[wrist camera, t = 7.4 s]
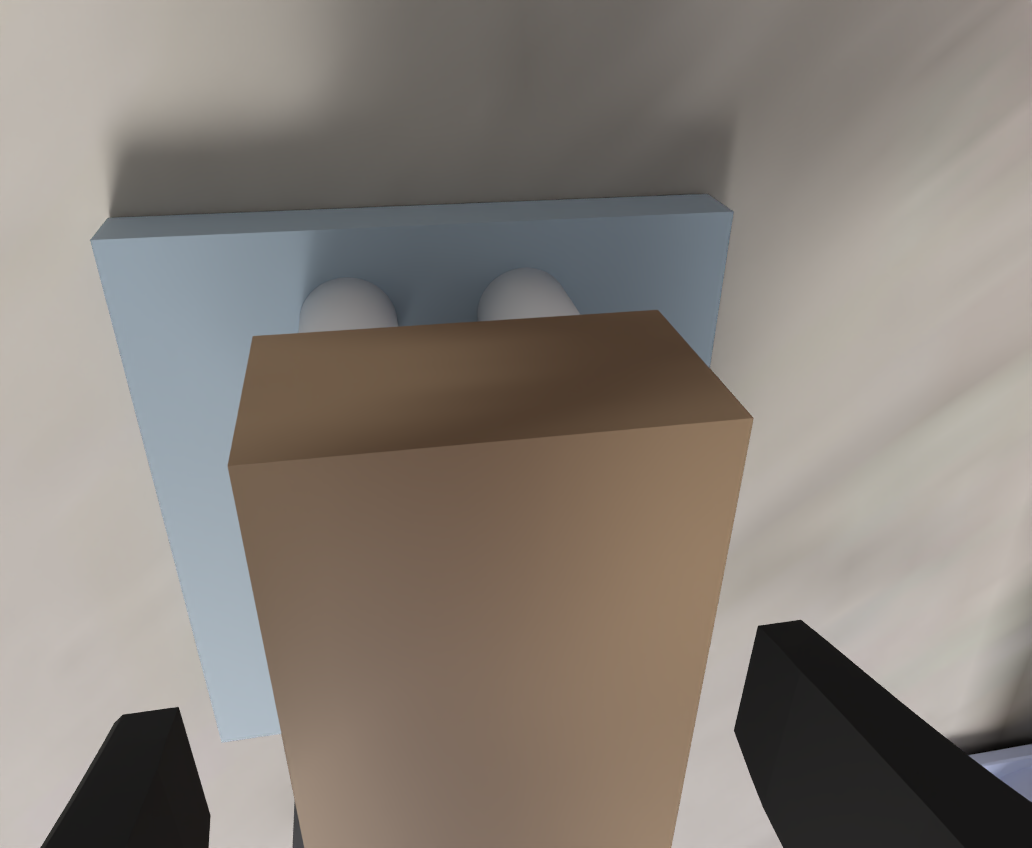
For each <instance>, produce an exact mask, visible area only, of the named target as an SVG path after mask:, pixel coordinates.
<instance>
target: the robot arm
mask: <svg viewBox="0 0 1032 848" xmlns="http://www.w3.org/2000/svg"><path fill="white" fill-rule="evenodd" d="M734 732H735V734H736V737H737V740H738V743H739V745H740V748H741V751H742V754H743V756H744V759H745V762H746V765H747V767H748V770H749V773H750V775H751V778H752V781H753V783H754V786H755V788H756V791H757V793H758V796H759V798H760V801H761V803H762V806H763V808H764V810H765V812H766V814H767V816H768V818H769V820H770V822H771V824H772V826H773V828H774V830H775V832H776V834H777V836H778V838H779V840H780V842H781V844H782V846H783V848H1032V744H1028V745H1022V746H1017V747H1011V748H1006V749H1000V750H994V751H989V752H983V753H977V754H972V755H967V754H966V753H965V752H963V751H962V750H961V749H959V748H958V747H957V746H956V745H954V744H953V743H952V742H950V741H949V740H948V739H947V738H945V737H944V736H943V735H942V734H940V733H939V732H938V731H936V730H935V729H934V728H933V727H931V726H930V725H929V724H928V723H926V722H925V721H924V720H923V719H921V718H920V717H919V716H918V715H916V714H915V713H914V712H913V711H911V710H910V709H909V708H908V707H906V706H905V705H904V704H903V703H902V702H900V701H899V700H898V699H897V698H895V697H894V696H893V695H892V694H891V693H889V692H888V691H887V690H886V689H885V688H883V687H882V686H881V685H880V684H878V683H877V682H876V681H875V680H874V679H872V678H871V677H870V676H869V675H868V674H866V673H865V672H864V671H863V670H861V669H860V668H859V667H858V666H857V665H855V664H854V663H853V662H852V661H851V660H849V659H848V658H847V657H846V656H845V655H843V654H842V653H841V652H840V651H839V650H837V649H836V648H835V647H834V646H833V645H831V644H830V643H829V642H828V641H827V640H825V639H824V638H823V637H822V636H820V635H819V634H818V633H817V632H816V631H814V630H813V629H812V628H811V627H809V626H808V625H807V624H806V623H804V622H803V621H802V620H796V621H789V622H782V623H775V624H768V625H761V626H758V628H757V632H756V637H755V641H754V645H753V650H752V654H751V659H750V663H749V667H748V672H747V676H746V680H745V685H744V689H743V693H742V698H741V702H740V706H739V711H738V715H737V720H736V724H735V728H734ZM209 831H210V812H209V809H208V806H207V802H206V799H205V795H204V792H203V789H202V785H201V782H200V778H199V775H198V772H197V768H196V765H195V761H194V758H193V755H192V751H191V748H190V744H189V741H188V737H187V734H186V731H185V727H184V724H183V720H182V717H181V714H180V710H179V707H175V708H168V709H160V710H153V711H146V712H139V713H132V714H125V715H122V716H121V717H120V718H119V719H118V720H117V721H116V722H115V723H114V725H113V727H112V728H111V730H110V732H109V734H108V735H107V737H106V739H105V741H104V742H103V744H102V746H101V748H100V749H99V751H98V753H97V755H96V756H95V758H94V760H93V762H92V763H91V765H90V767H89V768H88V770H87V772H86V774H85V775H84V777H83V779H82V780H81V782H80V784H79V785H78V787H77V789H76V791H75V792H74V794H73V796H72V797H71V799H70V801H69V802H68V804H67V805H66V807H65V809H64V810H63V812H62V814H61V815H60V817H59V818H58V820H57V822H56V823H55V825H54V827H53V828H52V830H51V831H50V833H49V835H48V836H47V838H46V840H45V841H44V843H43V844H42V846H41V847H40V848H208V847H209Z"/></svg>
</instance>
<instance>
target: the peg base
mask: <svg viewBox="0 0 1032 848" xmlns="http://www.w3.org/2000/svg"><path fill="white" fill-rule="evenodd" d="M733 212H734V211H732V210H731V209H729V208H728V207H726V206H725V205H723V204H722V203H720V202H719V201H717V200H716V199H714V198H713V197H711V196H710V195H708V194H690V195H665V196H641V197H616V198H591V199H566V200H541V201H516V202H491V203H466V204H441V205H416V206H391V207H366V208H341V209H316V210H291V211H266V212H241V213H216V214H191V215H166V216H141V217H116V218H107V220H106V221H105V222H104V223H103V225H102V226H101V227H100V228H99V230H98V231H97V232H96V234H95V235H94V236H93V237H92V239H91V240H90V241H91V245H92V249H93V252H94V256H95V260H96V264H97V268H98V272H99V275H100V279H101V283H102V287H103V291H104V294H105V298H106V302H107V306H108V310H109V314H110V317H111V321H112V325H113V329H114V333H115V336H116V340H117V344H118V348H119V352H120V356H121V359H122V363H123V367H124V371H125V375H126V379H127V382H128V386H129V390H130V394H131V398H132V401H133V405H134V409H135V413H136V417H137V421H138V424H139V428H140V432H141V436H142V440H143V443H144V447H145V451H146V455H147V459H148V463H149V466H150V470H151V474H152V478H153V482H154V485H155V489H156V493H157V497H158V501H159V505H160V508H161V512H162V516H163V520H164V524H165V528H166V531H167V535H168V539H169V543H170V547H171V550H172V554H173V558H174V562H175V566H176V570H177V573H178V577H179V581H180V585H181V589H182V592H183V596H184V600H185V604H186V608H187V612H188V615H189V619H190V623H191V627H192V631H193V635H194V638H195V642H196V646H197V650H198V654H199V657H200V661H201V665H202V669H203V673H204V677H205V680H206V684H207V688H208V692H209V696H210V699H211V703H212V707H213V711H214V715H215V719H216V722H217V726H218V730H219V734H220V738H221V742H229V741H235V740H242V739H249V738H256V737H262V736H269V735H276V734H281V730H280V725H279V720H278V715H277V710H276V705H275V700H274V695H273V690H272V685H271V680H270V675H269V670H268V665H267V660H266V655H265V650H264V645H263V640H262V635H261V630H260V625H259V620H258V615H257V610H256V605H255V600H254V596H253V591H252V586H251V581H250V576H249V571H248V566H247V561H246V556H245V551H244V546H243V541H242V536H241V531H240V526H239V521H238V516H237V511H236V506H235V501H234V496H233V491H232V486H231V481H230V476H229V471H228V461H229V455H230V450H231V445H232V440H233V435H234V430H235V425H236V419H237V414H238V409H239V404H240V399H241V394H242V389H243V383H244V378H245V373H246V368H247V363H248V358H249V353H250V347H251V342H252V337H253V336H261V335H276V334H292V333H307V332H323V331H338V330H353V329H369V328H384V327H400V326H415V325H430V324H446V323H461V322H476V321H492V320H507V319H523V318H538V317H553V316H569V315H584V314H600V313H615V312H630V311H646V310H659V311H660V312H661V314H662V315H663V316H664V317H665V318H666V319H667V320H668V322H669V323H670V324H671V325H672V326H673V327H674V328H675V330H676V331H677V332H678V333H679V334H680V335H681V336H682V337H683V339H684V340H685V341H686V342H687V343H688V344H689V345H690V347H691V348H692V349H693V350H694V351H695V352H696V353H697V354H698V356H699V357H700V358H701V359H702V360H703V361H704V362H705V364H706V365H707V366H708V367H709V368H710V362H711V356H712V349H713V343H714V336H715V330H716V323H717V317H718V310H719V304H720V297H721V291H722V284H723V278H724V271H725V265H726V258H727V251H728V245H729V238H730V232H731V225H732V219H733Z"/></svg>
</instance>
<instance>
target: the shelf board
mask: <svg viewBox="0 0 1032 848" xmlns="http://www.w3.org/2000/svg"><path fill="white" fill-rule="evenodd" d="M752 423H753V417H752V416H751V415H750V413H749V412H748V411H747V410H746V409H745V408H744V407H743V406H742V404H741V403H740V402H739V401H738V400H737V399H736V398H735V396H734V395H733V394H732V393H731V392H730V391H729V390H728V389H727V387H726V386H725V385H724V384H723V383H722V382H721V381H720V379H719V378H718V377H717V376H716V375H715V374H714V373H713V371H712V370H711V369H710V368H709V367H708V366H707V365H706V364H705V362H704V361H703V360H702V359H701V358H700V357H699V356H698V354H697V353H696V352H695V351H694V350H693V349H692V348H691V347H690V345H689V344H688V343H687V342H686V341H685V340H684V339H683V337H682V336H681V335H680V334H679V333H678V332H677V331H676V330H675V328H674V327H673V326H672V325H671V324H670V323H669V322H668V320H667V319H666V318H665V317H664V316H663V315H662V314H661V312H660V311H659V310H646V311H630V312H615V313H600V314H584V315H569V316H553V317H538V318H523V319H507V320H492V321H476V322H461V323H446V324H430V325H415V326H400V327H384V328H369V329H353V330H338V331H323V332H307V333H292V334H276V335H261V336H253V337H252V342H251V347H250V353H249V358H248V363H247V368H246V373H245V378H244V383H243V389H242V394H241V399H240V404H239V409H238V414H237V419H236V425H235V430H234V435H233V440H232V445H231V450H230V455H229V461H228V471H229V476H230V481H231V486H232V491H233V496H234V501H235V506H236V511H237V516H238V521H239V526H240V531H241V536H242V541H243V546H244V551H245V556H246V561H247V566H248V571H249V576H250V581H251V586H252V591H253V596H254V600H255V605H256V610H257V615H258V620H259V625H260V630H261V635H262V640H263V645H264V650H265V655H266V660H267V665H268V670H269V675H270V680H271V685H272V690H273V695H274V700H275V705H276V710H277V715H278V720H279V725H280V730H281V735H282V739H283V744H284V749H285V754H286V759H287V764H288V769H289V774H290V779H291V784H292V789H293V794H294V799H295V804H296V809H297V814H298V819H299V824H300V829H301V834H302V839H303V844H304V848H671V846H672V840H673V835H674V830H675V825H676V820H677V814H678V809H679V804H680V799H681V793H682V788H683V783H684V778H685V773H686V767H687V762H688V757H689V752H690V747H691V741H692V736H693V731H694V726H695V721H696V715H697V710H698V705H699V700H700V694H701V689H702V684H703V679H704V674H705V668H706V663H707V658H708V653H709V648H710V642H711V637H712V632H713V627H714V621H715V616H716V611H717V606H718V601H719V595H720V590H721V585H722V580H723V575H724V569H725V564H726V559H727V554H728V548H729V543H730V538H731V533H732V528H733V522H734V517H735V512H736V507H737V502H738V496H739V491H740V486H741V481H742V476H743V470H744V465H745V460H746V455H747V449H748V444H749V439H750V434H751V429H752Z"/></svg>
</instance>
